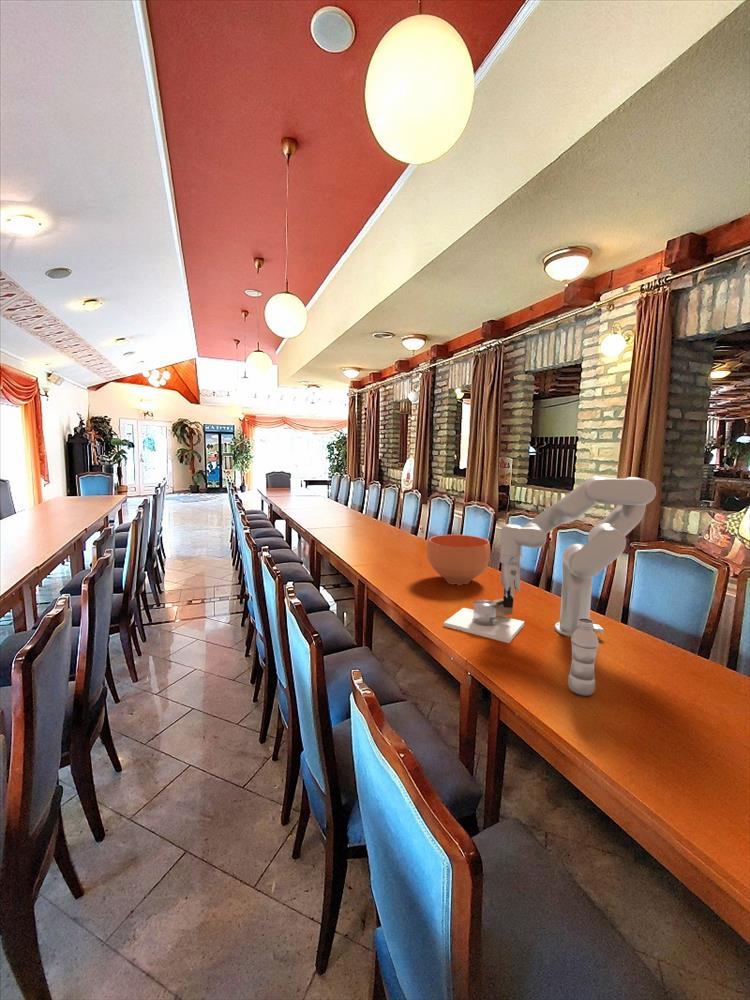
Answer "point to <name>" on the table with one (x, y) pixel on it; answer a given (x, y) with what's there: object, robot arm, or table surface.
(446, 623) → the base
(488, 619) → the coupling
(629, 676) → the table surface
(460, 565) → the bowl
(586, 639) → the plastic bottle
